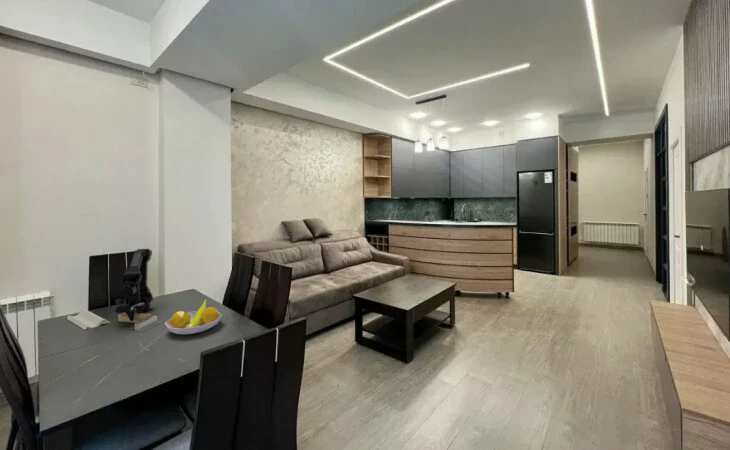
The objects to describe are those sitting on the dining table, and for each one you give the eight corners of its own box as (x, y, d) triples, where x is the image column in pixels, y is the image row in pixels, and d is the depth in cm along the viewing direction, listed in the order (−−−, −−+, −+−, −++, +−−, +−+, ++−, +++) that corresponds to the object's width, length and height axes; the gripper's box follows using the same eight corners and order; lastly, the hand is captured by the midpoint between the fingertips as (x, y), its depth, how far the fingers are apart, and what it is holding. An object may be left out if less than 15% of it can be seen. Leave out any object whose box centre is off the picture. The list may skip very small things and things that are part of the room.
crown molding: (66, 319, 181) (65, 313, 181) (92, 313, 191) (91, 307, 191) (84, 331, 164) (84, 324, 164) (112, 323, 175) (111, 317, 174)
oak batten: (125, 319, 180) (124, 312, 180) (151, 320, 177) (151, 314, 177) (118, 321, 176) (118, 314, 176) (145, 323, 173) (144, 316, 173)
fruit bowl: (199, 342, 150) (198, 319, 149) (152, 337, 155) (151, 315, 154) (234, 320, 177) (233, 301, 176) (193, 317, 183) (193, 298, 182)
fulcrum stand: (149, 321, 176) (149, 314, 176) (162, 321, 175) (162, 315, 175) (129, 331, 162) (128, 324, 162) (143, 332, 161) (142, 324, 161)
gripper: (133, 288, 185) (135, 313, 187) (105, 297, 167) (107, 325, 168) (151, 288, 184) (152, 313, 186) (124, 298, 166) (126, 326, 167)
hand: (135, 319), depth 177 cm, fingers closed on oak batten, 4 cm apart
